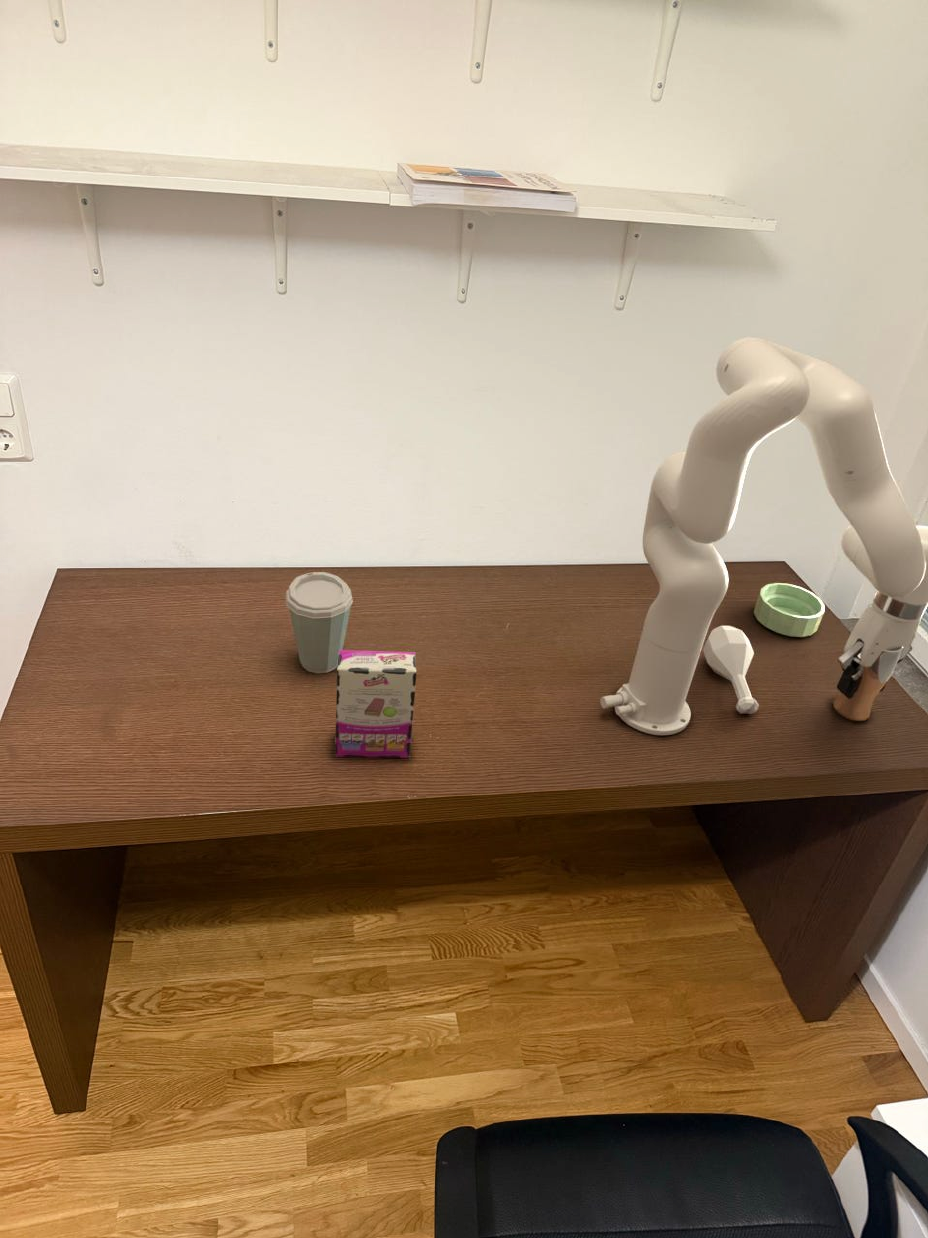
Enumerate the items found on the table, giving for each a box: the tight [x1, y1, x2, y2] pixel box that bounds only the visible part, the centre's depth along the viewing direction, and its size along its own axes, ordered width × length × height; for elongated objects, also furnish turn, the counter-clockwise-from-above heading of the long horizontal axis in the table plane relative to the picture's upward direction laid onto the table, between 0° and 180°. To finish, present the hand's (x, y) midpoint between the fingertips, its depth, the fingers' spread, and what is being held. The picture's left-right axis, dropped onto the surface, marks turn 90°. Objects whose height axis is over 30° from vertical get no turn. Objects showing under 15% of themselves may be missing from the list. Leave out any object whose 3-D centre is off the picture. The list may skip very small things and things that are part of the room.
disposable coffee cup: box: [285, 571, 354, 675], centre depth 147 cm, size 11×11×15 cm
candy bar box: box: [334, 649, 417, 759], centre depth 132 cm, size 11×5×16 cm, turn 95°
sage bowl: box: [753, 582, 826, 638], centre depth 177 cm, size 12×12×5 cm
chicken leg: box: [702, 625, 760, 715], centre depth 157 cm, size 8×18×8 cm, turn 5°
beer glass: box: [833, 646, 903, 722], centre depth 153 cm, size 7×7×15 cm
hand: (859, 689), depth 154 cm, fingers closed on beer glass, 6 cm apart
